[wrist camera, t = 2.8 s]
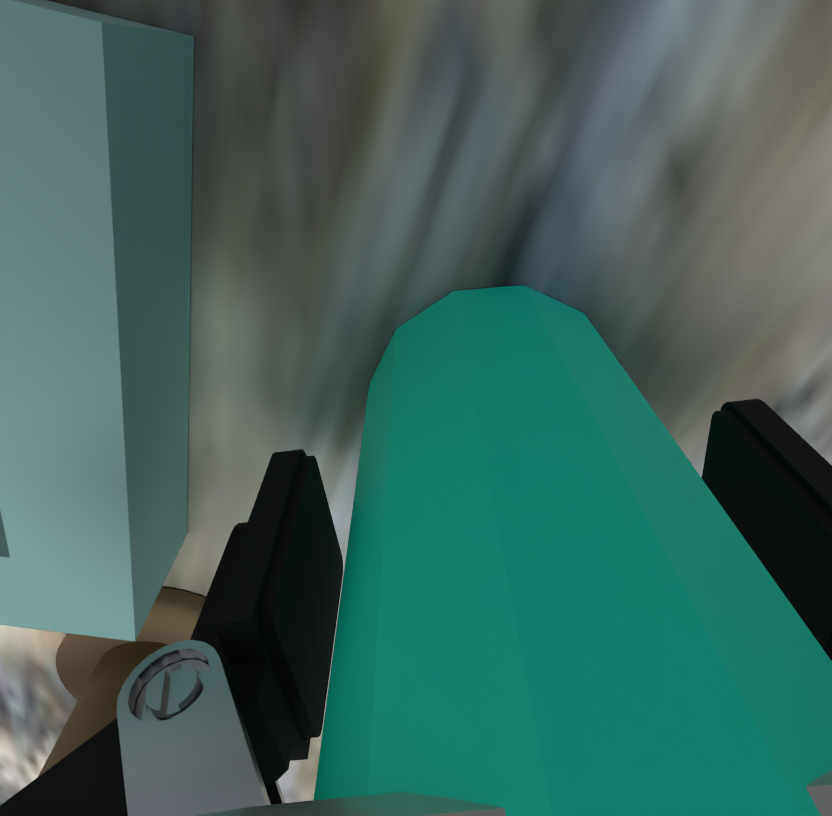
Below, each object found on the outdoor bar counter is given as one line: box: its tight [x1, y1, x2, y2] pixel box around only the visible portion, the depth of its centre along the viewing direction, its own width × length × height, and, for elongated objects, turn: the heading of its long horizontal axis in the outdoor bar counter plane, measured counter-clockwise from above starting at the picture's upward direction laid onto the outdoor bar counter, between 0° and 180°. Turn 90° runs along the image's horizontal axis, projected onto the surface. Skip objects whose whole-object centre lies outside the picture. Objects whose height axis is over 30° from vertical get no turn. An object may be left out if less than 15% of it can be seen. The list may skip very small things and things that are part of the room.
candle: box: [314, 285, 832, 816], centre depth 9 cm, size 6×6×12 cm
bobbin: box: [38, 587, 206, 777], centre depth 15 cm, size 6×6×9 cm
